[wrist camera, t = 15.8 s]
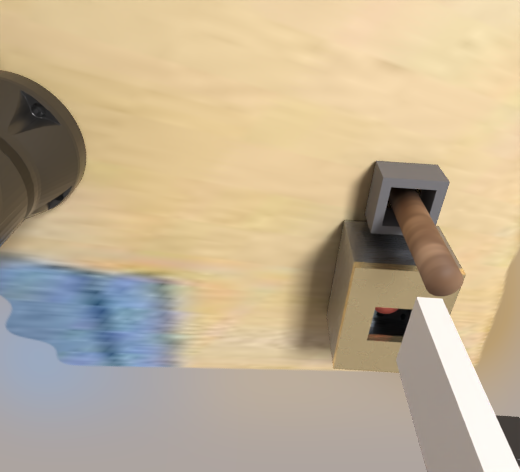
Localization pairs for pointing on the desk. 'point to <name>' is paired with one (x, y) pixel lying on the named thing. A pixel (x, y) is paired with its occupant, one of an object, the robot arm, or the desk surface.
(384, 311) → the pink rubber ball
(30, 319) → the desk surface
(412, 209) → the brown rounded rod
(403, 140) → the desk surface
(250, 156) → the desk surface
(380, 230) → the holder
